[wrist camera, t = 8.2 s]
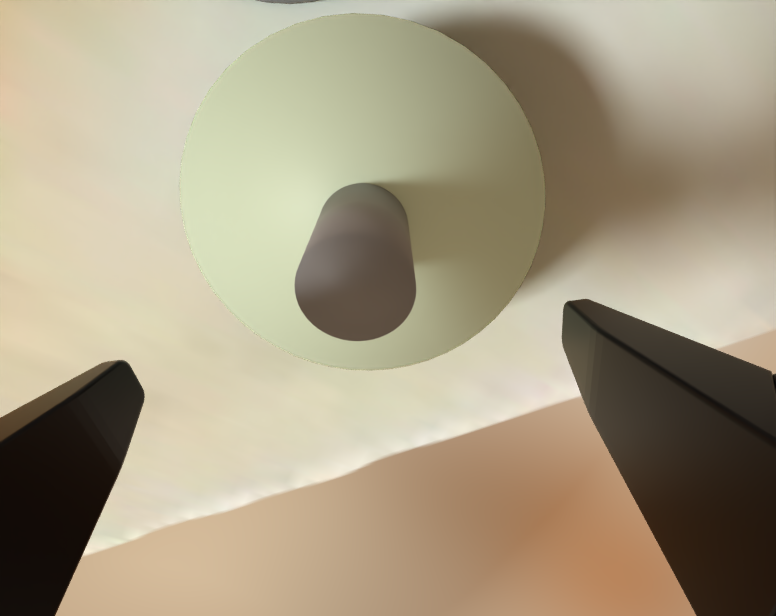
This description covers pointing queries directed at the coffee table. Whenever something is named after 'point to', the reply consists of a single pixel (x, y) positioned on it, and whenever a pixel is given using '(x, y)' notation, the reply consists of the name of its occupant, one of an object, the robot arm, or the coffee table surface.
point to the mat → (286, 1)
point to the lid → (362, 191)
